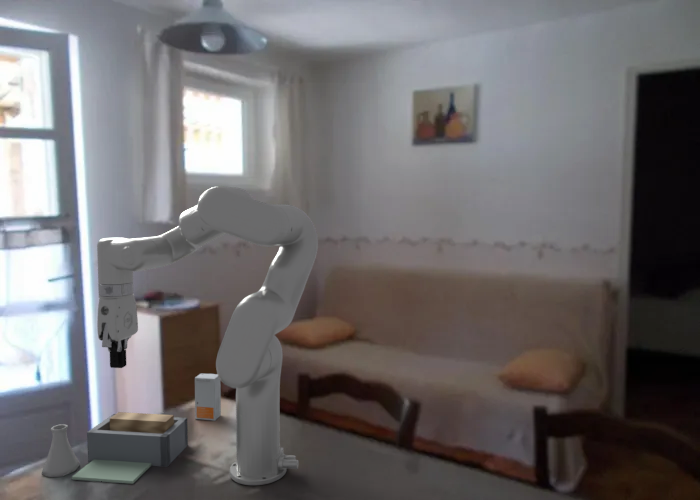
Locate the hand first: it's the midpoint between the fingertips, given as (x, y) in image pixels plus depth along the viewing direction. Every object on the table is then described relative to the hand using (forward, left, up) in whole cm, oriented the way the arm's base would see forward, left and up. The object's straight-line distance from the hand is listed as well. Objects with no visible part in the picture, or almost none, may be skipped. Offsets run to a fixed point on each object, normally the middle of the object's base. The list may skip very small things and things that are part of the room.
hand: (118, 366), depth 126 cm
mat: (-4, +10, -21) cm, 23 cm away
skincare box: (-13, -23, -21) cm, 34 cm away
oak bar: (-6, 0, -17) cm, 18 cm away
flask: (+8, +10, -21) cm, 25 cm away
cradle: (-6, 0, -21) cm, 22 cm away
